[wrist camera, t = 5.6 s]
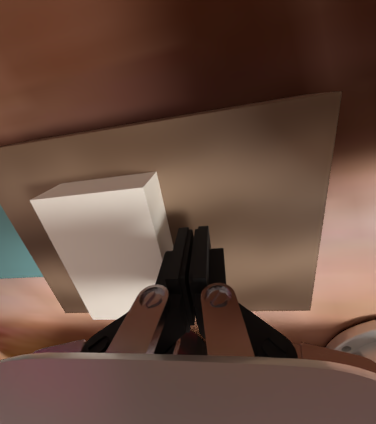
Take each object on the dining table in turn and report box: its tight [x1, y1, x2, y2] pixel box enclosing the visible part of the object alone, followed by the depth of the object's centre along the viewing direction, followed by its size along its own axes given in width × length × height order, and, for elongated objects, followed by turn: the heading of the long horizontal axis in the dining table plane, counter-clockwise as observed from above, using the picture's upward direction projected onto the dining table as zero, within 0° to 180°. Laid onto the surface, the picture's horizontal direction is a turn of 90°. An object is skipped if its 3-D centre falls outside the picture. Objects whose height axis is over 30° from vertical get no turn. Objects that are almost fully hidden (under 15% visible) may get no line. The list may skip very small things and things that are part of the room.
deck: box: [0, 91, 342, 313], centre depth 16 cm, size 14×20×4 cm
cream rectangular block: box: [30, 172, 173, 320], centre depth 13 cm, size 9×6×2 cm, turn 9°
